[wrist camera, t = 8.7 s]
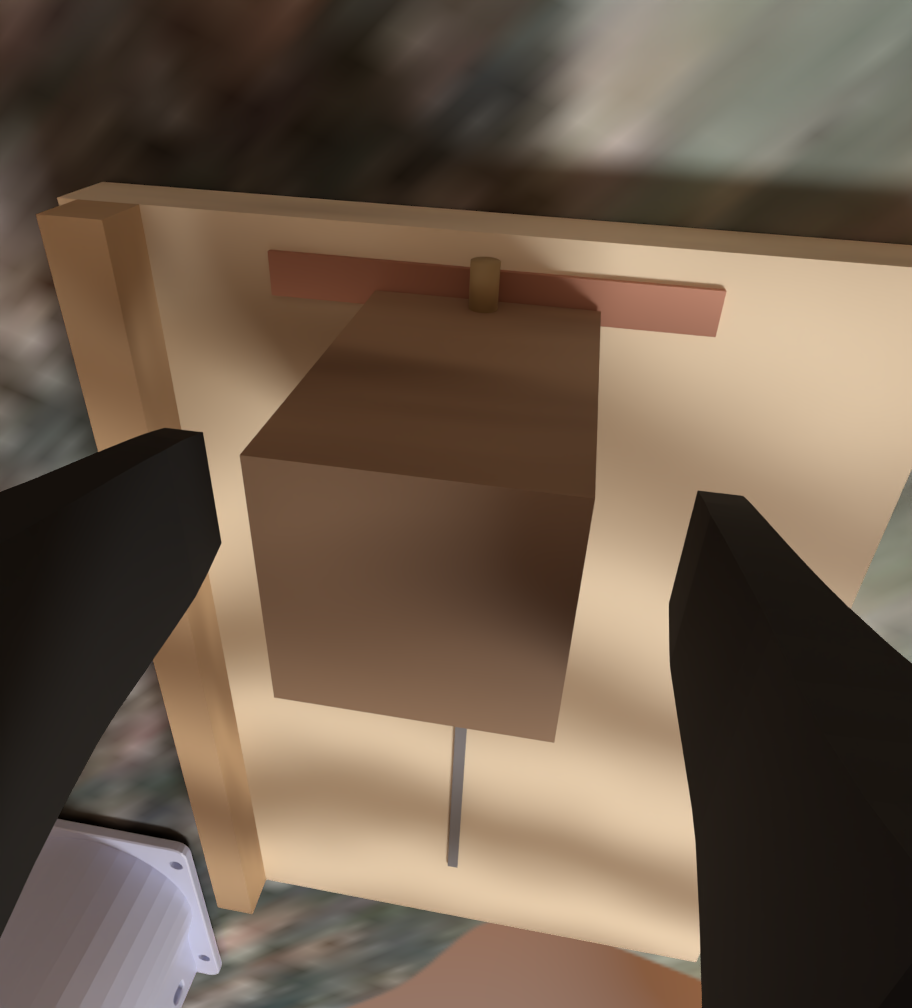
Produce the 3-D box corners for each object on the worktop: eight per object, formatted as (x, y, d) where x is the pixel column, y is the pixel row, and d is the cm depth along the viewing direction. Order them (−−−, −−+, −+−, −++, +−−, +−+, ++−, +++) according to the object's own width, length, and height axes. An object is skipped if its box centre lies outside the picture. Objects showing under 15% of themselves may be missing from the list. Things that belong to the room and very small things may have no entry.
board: (691, 915, 25) (699, 1002, 23) (239, 831, 27) (206, 905, 25) (960, 248, 13) (1031, 298, 11) (102, 181, 15) (13, 212, 13)
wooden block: (572, 503, 15) (554, 742, 10) (379, 480, 16) (274, 697, 11) (607, 264, 13) (606, 431, 8) (374, 244, 13) (230, 390, 8)
